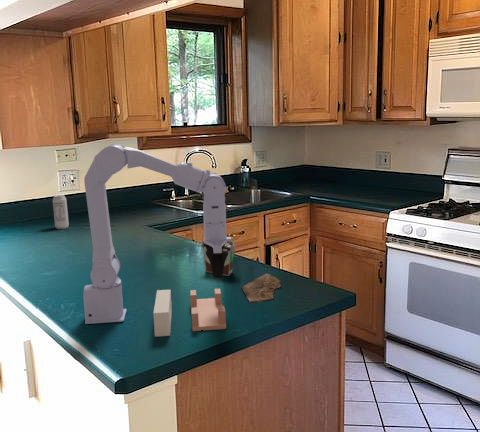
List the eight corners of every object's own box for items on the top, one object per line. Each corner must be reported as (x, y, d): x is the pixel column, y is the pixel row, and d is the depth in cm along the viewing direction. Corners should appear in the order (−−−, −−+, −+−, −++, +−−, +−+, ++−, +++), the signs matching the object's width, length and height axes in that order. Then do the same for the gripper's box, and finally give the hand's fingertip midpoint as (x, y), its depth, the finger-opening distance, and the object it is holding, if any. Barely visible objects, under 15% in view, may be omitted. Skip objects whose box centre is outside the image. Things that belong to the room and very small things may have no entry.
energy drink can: (71, 226, 248) (68, 194, 245) (65, 229, 242) (62, 196, 239) (59, 226, 249) (56, 194, 246) (52, 229, 243) (49, 196, 240)
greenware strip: (154, 337, 124) (153, 313, 123) (158, 312, 139) (157, 290, 138) (170, 336, 124) (168, 312, 123) (171, 311, 140) (170, 289, 138)
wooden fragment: (270, 305, 142) (270, 301, 142) (231, 302, 145) (231, 298, 145) (287, 276, 167) (287, 273, 167) (254, 274, 170) (254, 271, 169)
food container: (243, 271, 172) (243, 241, 170) (232, 276, 167) (232, 245, 165) (213, 266, 178) (212, 237, 176) (202, 270, 174) (200, 241, 172)
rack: (192, 331, 126) (191, 315, 125) (190, 303, 145) (190, 289, 144) (226, 328, 127) (225, 313, 126) (220, 301, 145) (219, 287, 145)
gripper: (233, 227, 128) (235, 280, 130) (228, 215, 142) (229, 264, 144) (204, 228, 127) (206, 282, 130) (201, 216, 141) (203, 265, 144)
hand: (216, 273), depth 137 cm, fingers open, 7 cm apart
